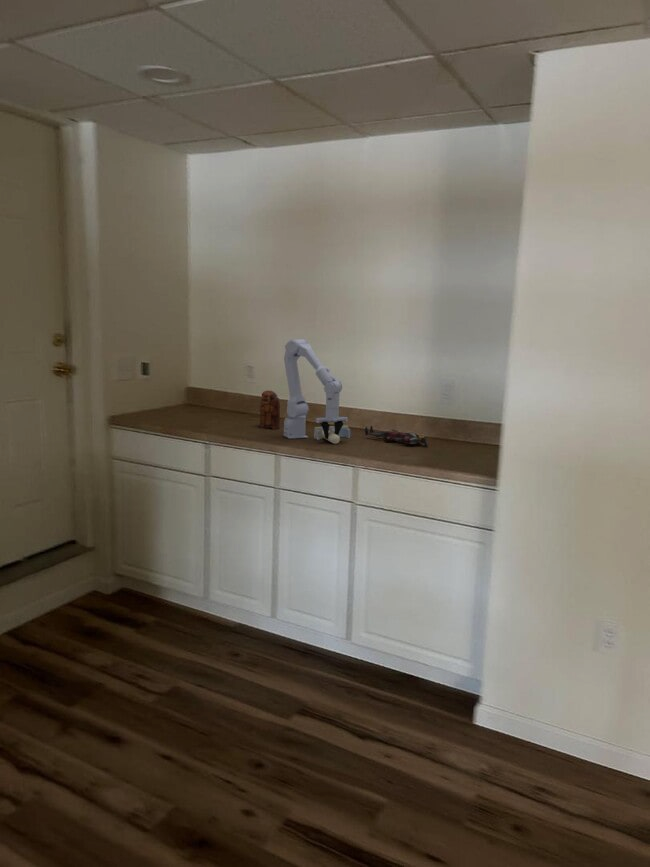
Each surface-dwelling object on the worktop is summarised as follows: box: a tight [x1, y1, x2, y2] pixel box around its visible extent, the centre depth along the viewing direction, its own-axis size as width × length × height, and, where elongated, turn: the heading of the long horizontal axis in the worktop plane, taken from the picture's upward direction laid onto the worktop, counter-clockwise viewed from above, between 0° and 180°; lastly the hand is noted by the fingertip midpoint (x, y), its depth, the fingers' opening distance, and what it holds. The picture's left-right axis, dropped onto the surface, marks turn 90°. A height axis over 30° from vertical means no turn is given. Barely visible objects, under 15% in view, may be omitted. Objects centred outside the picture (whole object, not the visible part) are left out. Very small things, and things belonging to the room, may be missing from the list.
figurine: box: [364, 425, 429, 448], centre depth 294 cm, size 13×6×30 cm
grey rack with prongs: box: [313, 425, 351, 441], centre depth 298 cm, size 16×4×5 cm, turn 112°
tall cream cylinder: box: [321, 431, 341, 445], centre depth 291 cm, size 12×4×4 cm, turn 22°
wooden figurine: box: [259, 389, 281, 430], centre depth 317 cm, size 12×6×18 cm, turn 59°
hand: (331, 438), depth 290 cm, fingers closed on tall cream cylinder, 4 cm apart
